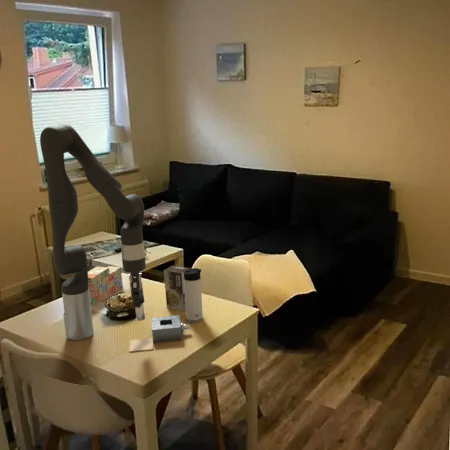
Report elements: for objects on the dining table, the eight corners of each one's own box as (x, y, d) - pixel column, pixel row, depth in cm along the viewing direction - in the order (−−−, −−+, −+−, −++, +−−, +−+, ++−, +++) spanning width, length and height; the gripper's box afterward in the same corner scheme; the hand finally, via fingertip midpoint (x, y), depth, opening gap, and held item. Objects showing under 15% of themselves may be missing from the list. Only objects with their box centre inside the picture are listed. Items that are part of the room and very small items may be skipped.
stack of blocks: (111, 285, 240) (108, 259, 237) (123, 286, 238) (120, 260, 234) (82, 303, 221) (79, 275, 217) (95, 305, 219) (92, 277, 215)
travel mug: (201, 323, 199) (198, 272, 194) (184, 322, 200) (181, 272, 195) (205, 316, 205) (202, 267, 199) (188, 315, 206) (185, 266, 201)
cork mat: (129, 352, 179) (129, 351, 179) (129, 341, 187) (129, 340, 187) (153, 349, 180) (153, 348, 180) (152, 339, 188) (152, 338, 188)
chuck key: (145, 320, 178) (140, 283, 176) (134, 321, 179) (128, 285, 176) (147, 316, 182) (142, 280, 180) (136, 317, 182) (130, 281, 180)
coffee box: (193, 305, 214) (191, 268, 210) (184, 311, 209) (181, 273, 205) (175, 301, 219) (173, 264, 215) (165, 307, 214) (163, 269, 210)
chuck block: (153, 343, 185) (152, 329, 184) (152, 330, 195) (151, 317, 193) (190, 339, 187) (190, 326, 185) (188, 326, 196) (188, 314, 195)
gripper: (144, 261, 169) (148, 311, 173) (145, 248, 182) (148, 295, 187) (120, 263, 168) (125, 313, 172) (122, 250, 181) (127, 297, 186)
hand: (137, 303), depth 179 cm, fingers closed on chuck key, 4 cm apart
